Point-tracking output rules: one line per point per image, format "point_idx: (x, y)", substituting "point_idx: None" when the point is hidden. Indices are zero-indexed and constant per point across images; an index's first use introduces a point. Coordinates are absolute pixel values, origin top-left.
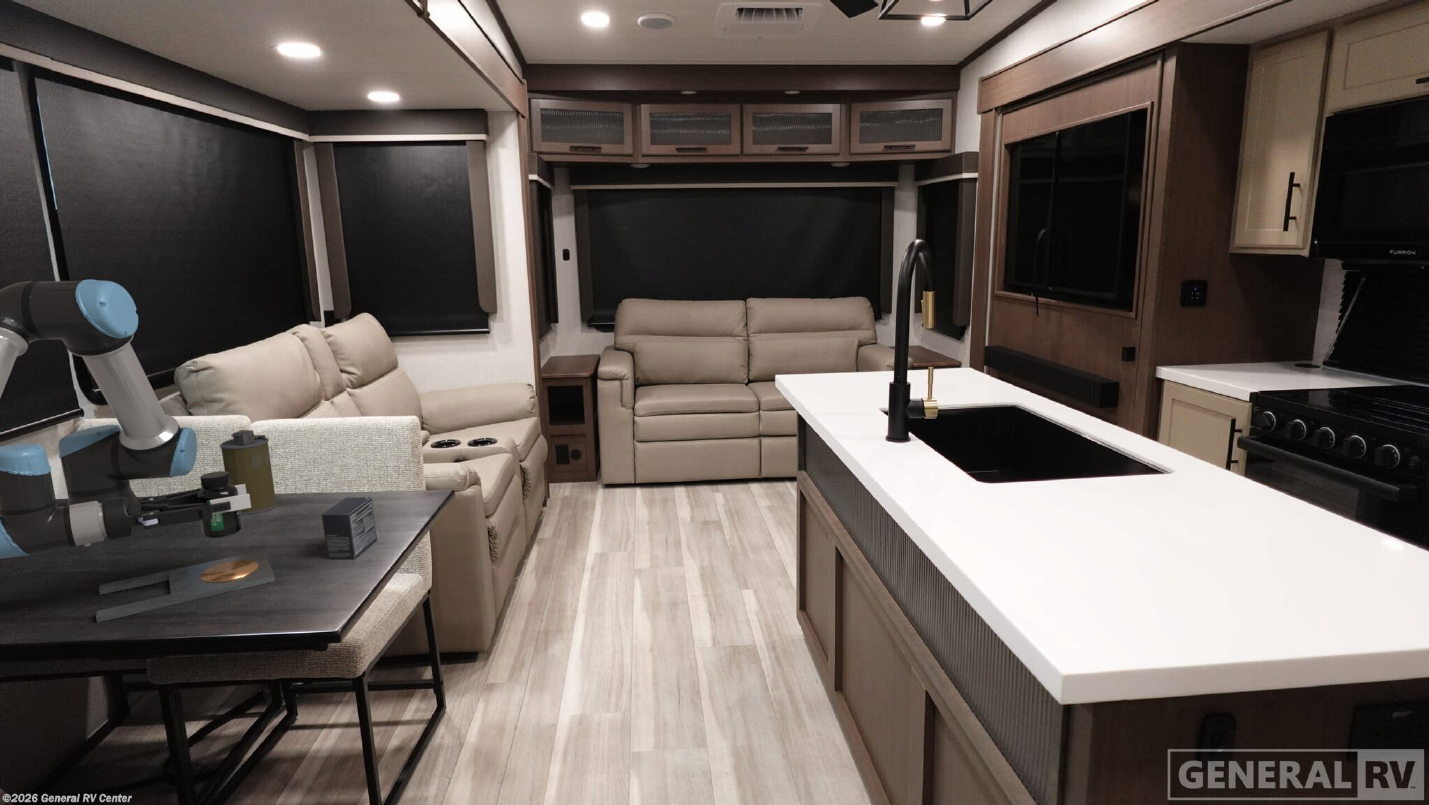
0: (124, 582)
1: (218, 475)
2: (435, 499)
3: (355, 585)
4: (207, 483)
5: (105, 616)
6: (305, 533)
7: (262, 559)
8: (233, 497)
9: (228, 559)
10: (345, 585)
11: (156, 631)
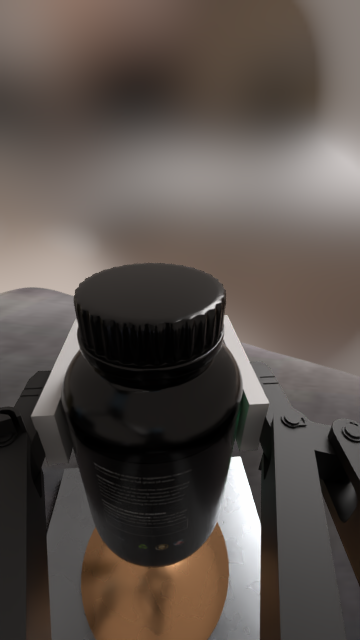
0: None
1: (183, 278)
2: (50, 291)
3: (296, 371)
4: (213, 336)
5: None
6: (15, 403)
7: None
8: (240, 343)
9: (54, 561)
10: (293, 380)
11: None
